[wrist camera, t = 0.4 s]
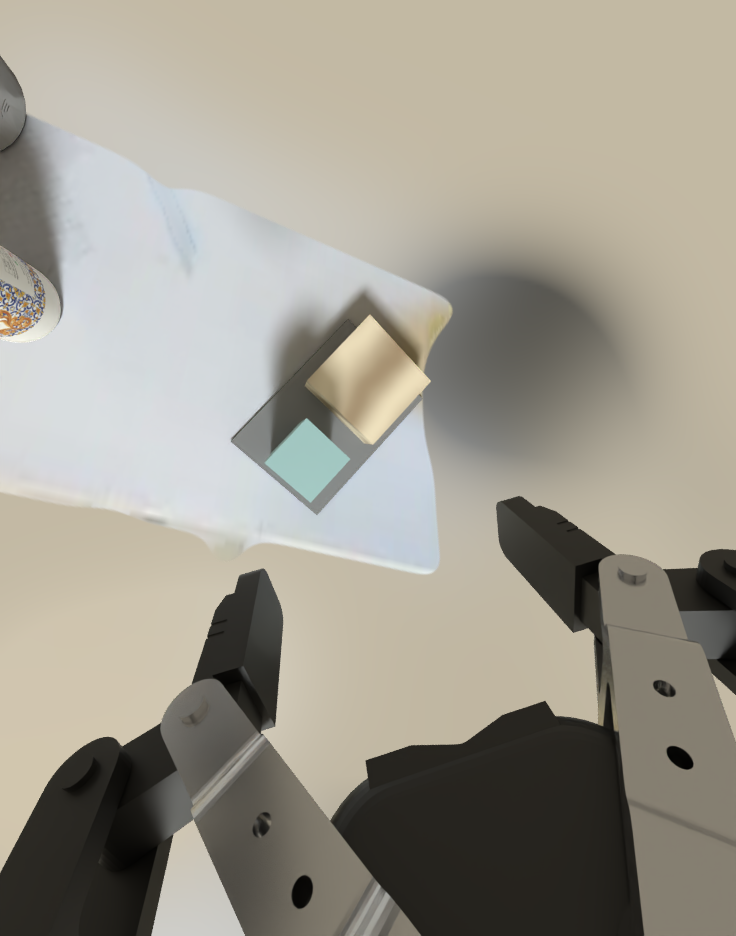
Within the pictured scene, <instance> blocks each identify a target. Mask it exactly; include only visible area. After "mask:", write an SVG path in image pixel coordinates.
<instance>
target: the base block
mask: <svg viewBox="0 0 736 936" xmlns="http://www.w3.org/2000/svg"><path fill="white" fill-rule="evenodd" d="M430 382H431V381H430V380H429V379H428V378H427V376H426V375H425V374H424V373H423V372H422V371H421V370H420V369H419V368H418V367H417V365H416V364H415V363H414V362H413V361H412V360H411V359H410V358H409V357H408V356H407V354H406V353H405V352H404V351H403V350H402V349H401V348H400V347H399V346H398V345H397V343H396V342H395V341H394V340H393V339H392V338H391V337H390V336H389V335H388V334H387V333H386V331H385V330H384V329H383V328H382V327H381V326H380V325H379V324H378V323H377V322H376V320H375V319H374V318H373V317H372V316H371V315H369V316H368V317H367V318H366V319H365V320H364V321H363V322H362V323H361V324H360V325H359V326H358V327H357V328H356V330H355V331H354V332H353V333H352V334H351V335H350V336H349V337H348V338H347V339H346V340H345V341H344V342H343V343H342V344H341V345H340V346H339V347H338V348H337V349H336V350H335V352H334V353H333V354H332V355H331V356H330V357H329V358H328V359H327V360H326V361H325V362H324V363H323V364H322V365H321V366H320V367H319V368H318V369H317V370H316V371H315V373H314V374H313V375H312V376H311V377H310V378H309V379H308V380H307V382H306V384H305V387H306V388H307V389H308V390H309V391H310V392H312V393H313V394H314V395H315V396H316V397H317V398H318V399H319V400H320V401H321V402H322V403H323V404H324V405H325V406H326V407H327V408H328V409H329V410H330V411H331V412H332V413H333V414H334V415H335V416H336V417H337V418H338V419H340V420H341V421H342V422H343V423H344V424H345V425H346V426H347V427H348V428H349V429H350V430H351V431H352V432H353V433H354V434H355V435H356V436H357V437H358V438H359V439H360V440H361V441H362V442H363V443H364V444H372V445H373V444H374V443H375V442H376V441H377V440H378V439H379V438H380V437H381V436H382V434H383V433H384V432H385V431H386V430H387V429H388V428H389V427H390V426H391V425H392V423H393V422H394V421H395V420H396V419H397V418H398V417H399V416H400V415H401V414H402V412H403V411H404V410H405V409H406V408H407V407H408V406H409V405H410V404H411V403H412V401H413V400H414V399H415V398H416V397H417V396H418V395H419V394H420V393H421V392H422V391H423V389H424V388H425V387H426V386H427V385H428V384H429V383H430Z"/></svg>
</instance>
